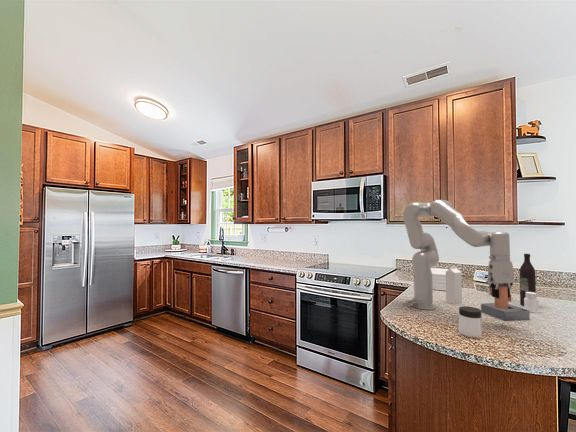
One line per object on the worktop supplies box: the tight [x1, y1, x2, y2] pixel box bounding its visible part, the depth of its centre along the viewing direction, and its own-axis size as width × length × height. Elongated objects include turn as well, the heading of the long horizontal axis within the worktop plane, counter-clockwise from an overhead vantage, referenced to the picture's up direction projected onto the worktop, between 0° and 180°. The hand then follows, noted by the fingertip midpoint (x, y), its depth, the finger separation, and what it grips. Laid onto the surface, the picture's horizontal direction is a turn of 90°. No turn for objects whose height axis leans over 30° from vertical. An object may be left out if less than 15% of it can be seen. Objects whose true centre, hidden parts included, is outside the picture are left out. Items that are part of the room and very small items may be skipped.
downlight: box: [523, 292, 541, 314], centre depth 153 cm, size 8×7×10 cm
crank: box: [488, 283, 512, 302], centre depth 184 cm, size 20×8×8 cm, turn 154°
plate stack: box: [430, 267, 450, 292], centre depth 214 cm, size 28×28×12 cm
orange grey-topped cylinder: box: [494, 284, 509, 309], centre depth 131 cm, size 5×5×11 cm
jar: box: [458, 305, 483, 339], centre depth 120 cm, size 9×8×12 cm
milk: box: [445, 265, 463, 305], centre depth 170 cm, size 6×6×22 cm
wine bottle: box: [519, 253, 537, 306], centre depth 164 cm, size 7×7×30 cm
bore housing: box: [480, 302, 531, 322], centre depth 145 cm, size 14×14×5 cm
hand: (501, 296), depth 131 cm, fingers closed on orange grey-topped cylinder, 5 cm apart
